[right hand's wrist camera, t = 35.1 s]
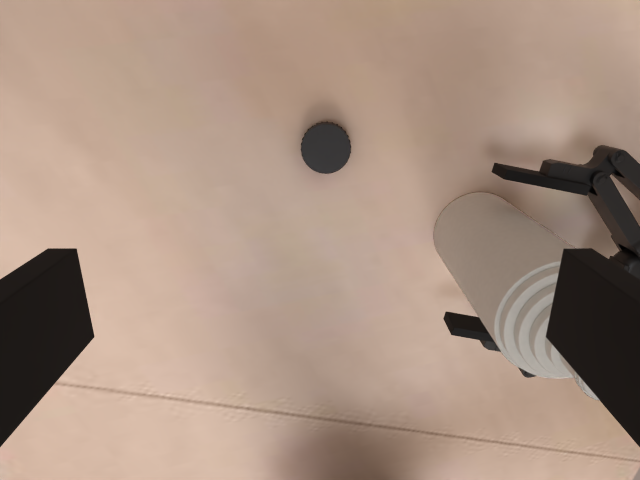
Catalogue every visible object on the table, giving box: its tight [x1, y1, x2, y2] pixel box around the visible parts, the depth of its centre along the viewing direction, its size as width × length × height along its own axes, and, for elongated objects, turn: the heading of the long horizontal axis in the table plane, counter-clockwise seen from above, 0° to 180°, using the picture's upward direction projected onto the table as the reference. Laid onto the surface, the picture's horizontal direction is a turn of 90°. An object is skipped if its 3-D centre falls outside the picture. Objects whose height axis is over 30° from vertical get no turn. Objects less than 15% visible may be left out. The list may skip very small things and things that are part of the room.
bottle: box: [434, 192, 599, 400], centre depth 33 cm, size 8×8×22 cm
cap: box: [301, 122, 351, 174], centre depth 39 cm, size 4×4×2 cm
